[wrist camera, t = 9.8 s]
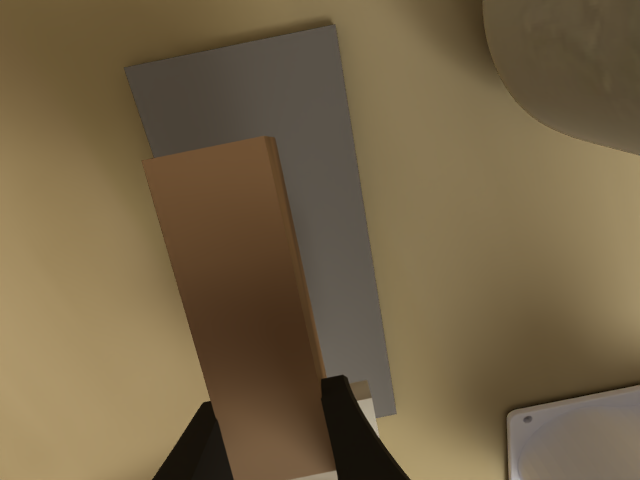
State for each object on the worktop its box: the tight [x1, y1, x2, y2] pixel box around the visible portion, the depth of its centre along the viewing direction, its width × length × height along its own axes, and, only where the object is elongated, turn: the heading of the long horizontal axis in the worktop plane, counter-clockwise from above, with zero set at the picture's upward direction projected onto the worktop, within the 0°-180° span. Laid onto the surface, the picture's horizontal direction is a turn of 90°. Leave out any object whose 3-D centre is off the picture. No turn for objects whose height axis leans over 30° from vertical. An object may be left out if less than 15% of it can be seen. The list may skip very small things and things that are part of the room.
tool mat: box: [124, 24, 397, 418], centre depth 20 cm, size 8×19×1 cm, turn 10°
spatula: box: [142, 136, 380, 480], centre depth 12 cm, size 14×5×4 cm, turn 10°
